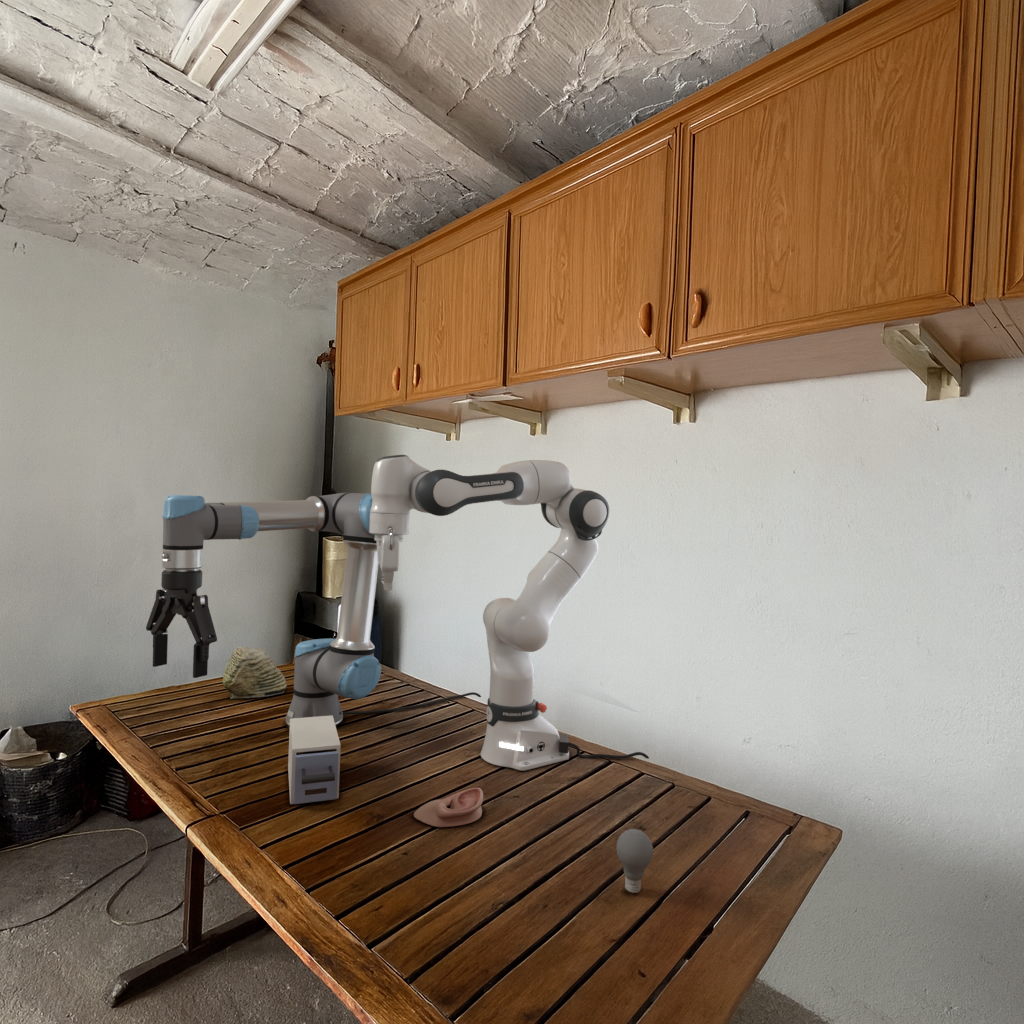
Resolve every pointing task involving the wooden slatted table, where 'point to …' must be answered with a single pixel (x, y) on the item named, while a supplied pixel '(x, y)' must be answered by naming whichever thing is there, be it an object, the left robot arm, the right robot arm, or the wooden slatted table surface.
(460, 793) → the anatomical model
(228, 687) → the fossil
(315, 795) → the drawer
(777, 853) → the wooden slatted table surface
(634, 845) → the light bulb
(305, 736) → the cabinet
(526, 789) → the wooden slatted table surface
